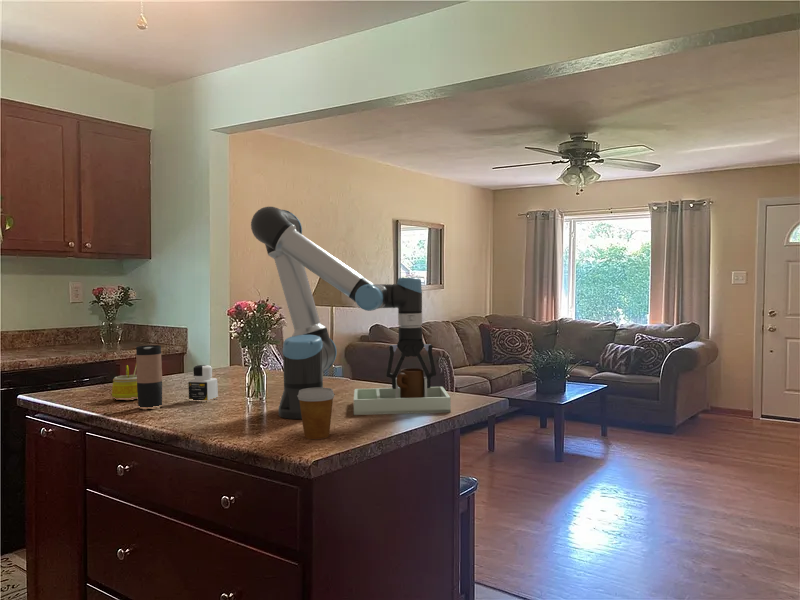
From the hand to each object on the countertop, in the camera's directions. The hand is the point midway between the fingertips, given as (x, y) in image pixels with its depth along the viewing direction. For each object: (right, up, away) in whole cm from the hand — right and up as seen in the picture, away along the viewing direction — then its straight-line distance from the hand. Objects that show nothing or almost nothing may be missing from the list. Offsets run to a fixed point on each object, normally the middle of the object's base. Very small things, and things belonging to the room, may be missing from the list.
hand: (411, 398), depth 204 cm
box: (-3, -3, 0) cm, 4 cm away
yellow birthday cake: (-98, -4, +24) cm, 101 cm away
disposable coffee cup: (-25, -4, -37) cm, 45 cm away
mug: (-1, -1, 0) cm, 1 cm away
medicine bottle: (-71, -4, +18) cm, 73 cm away
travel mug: (-84, -4, +6) cm, 85 cm away
